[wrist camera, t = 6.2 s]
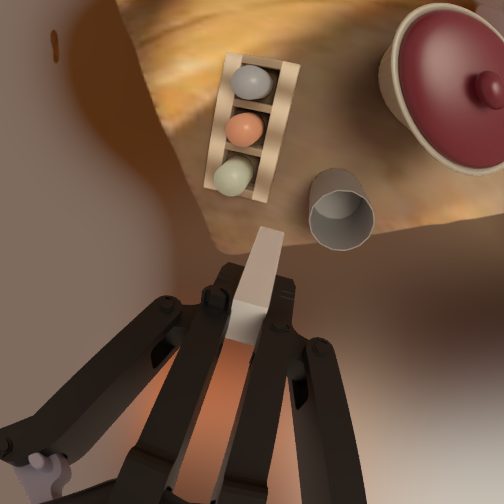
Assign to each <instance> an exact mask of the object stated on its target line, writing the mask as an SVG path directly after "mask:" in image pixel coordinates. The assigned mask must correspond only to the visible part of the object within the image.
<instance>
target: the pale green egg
mask: <svg viewBox="0 0 504 504" xmlns="http://www.w3.org/2000/svg"><path fill="white" fill-rule="evenodd" d="M253 175H254V167H253V164H252V163H251V161H250V160H249V159H247V158H246V157H243V156H234V157H231V158H230V159H229V160H227V161H226V162H225V163H224V164H223V165H222V166H220V167H219V168H218V169H217V170H216V172H215V174H214V184H215V187H216V188H217V190H218V191H219V192H220V193H222V194H224V195H226V196H237V195H239V194H241V193H242V192H243V191H244V189H245V188H246V186H247V185H248V183H249V182H250V180H251V179H252V177H253Z"/></svg>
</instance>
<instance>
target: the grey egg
mask: <svg viewBox="0 0 504 504" xmlns="http://www.w3.org/2000/svg"><path fill="white" fill-rule="evenodd" d="M231 87H232V90H233V92H234V93H235V94H236V95H237V96H239V97H240V98H243V99H247V100H251V99H261V98H264V97H266V96H267V95H269V94H270V92H271V91H272V89H273V79H272V77H271V75H270V74H269V73H268V72H266V71H265V70H263V69H261V68H259V67H257V66H253V65H246V66H242V67H240V68H238V69H237V70H236V71H235V72H234V73H233V75H232V78H231Z"/></svg>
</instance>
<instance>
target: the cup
mask: <svg viewBox="0 0 504 504" xmlns="http://www.w3.org/2000/svg"><path fill="white" fill-rule="evenodd" d="M309 224H310V229H311V233H312V235H313V236H314V237H315V238H316V240H317V241H318V242H319V243H320V244H321V245H324V246H325V247H327V248H330V249H332V250H343V251H347V250H350V249H352V248H355V247H358V246H360V245H361V244H362V243H363V242H364V241H365V240H367V239H368V238H369V236H370V234H371V232H372V230H373V227H374V225H375V221H374V210H373V208H372V206H371V204H370V202H369V200H368V198H367V196H366V194H365V192H364V190H363V188H362V186H361V184H360V183H359V181H358V180H357V178H356V177H355V175H354V174H352V173H350V172H348V171H347V170H345V169H338V168H330V169H328V170H325V171H323V172H321V173H319V175H318V176H317V177H316V178H315V179H314V180H313V181H312V185H311V189H310V192H309Z"/></svg>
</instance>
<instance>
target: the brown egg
mask: <svg viewBox="0 0 504 504" xmlns="http://www.w3.org/2000/svg"><path fill="white" fill-rule="evenodd" d="M264 131H265V122H264V120H263V118H262V117H261V116H260V115H259V114H257V113H255V112H245V113H242V114H238V115H235V116H233V117H232V118H231V119H230V120H229V121H228V123H227V125H226V136H227V138H228V140H229V141H230V142H231V143H232V144H234V145H236V146H239V147H247V146H250V145H252V144H253V143H254V142H255V141H257V140H258V139H259V138H260V137H261V136H262V135H263V133H264Z"/></svg>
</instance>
